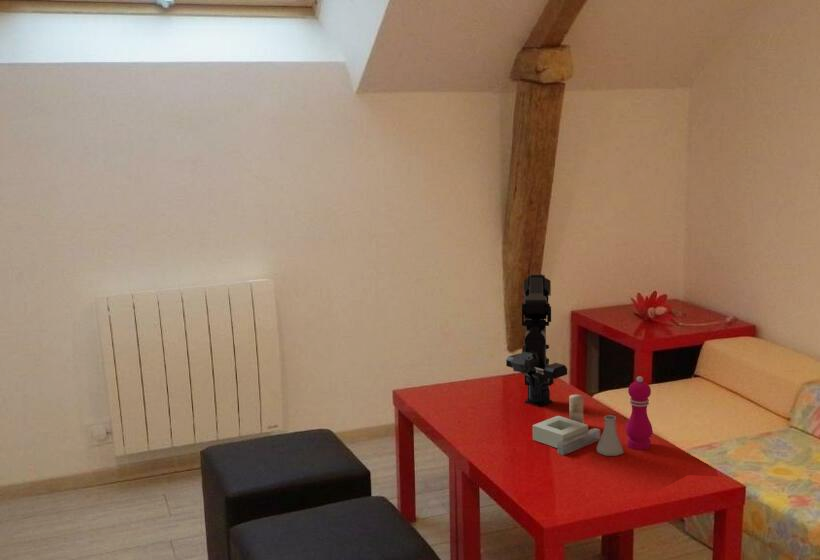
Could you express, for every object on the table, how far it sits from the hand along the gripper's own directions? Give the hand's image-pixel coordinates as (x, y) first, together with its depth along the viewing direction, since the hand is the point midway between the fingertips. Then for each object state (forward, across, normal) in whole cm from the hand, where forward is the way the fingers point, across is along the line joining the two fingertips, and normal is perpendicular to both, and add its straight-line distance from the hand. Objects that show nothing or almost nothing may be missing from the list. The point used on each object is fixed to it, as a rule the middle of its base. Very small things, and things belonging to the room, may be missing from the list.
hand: (536, 394), depth 256 cm
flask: (+12, +24, +3) cm, 27 cm away
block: (+12, +9, 0) cm, 15 cm away
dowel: (+12, +5, +12) cm, 17 cm away
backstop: (+12, +16, 0) cm, 19 cm away
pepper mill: (+12, +27, +12) cm, 32 cm away
